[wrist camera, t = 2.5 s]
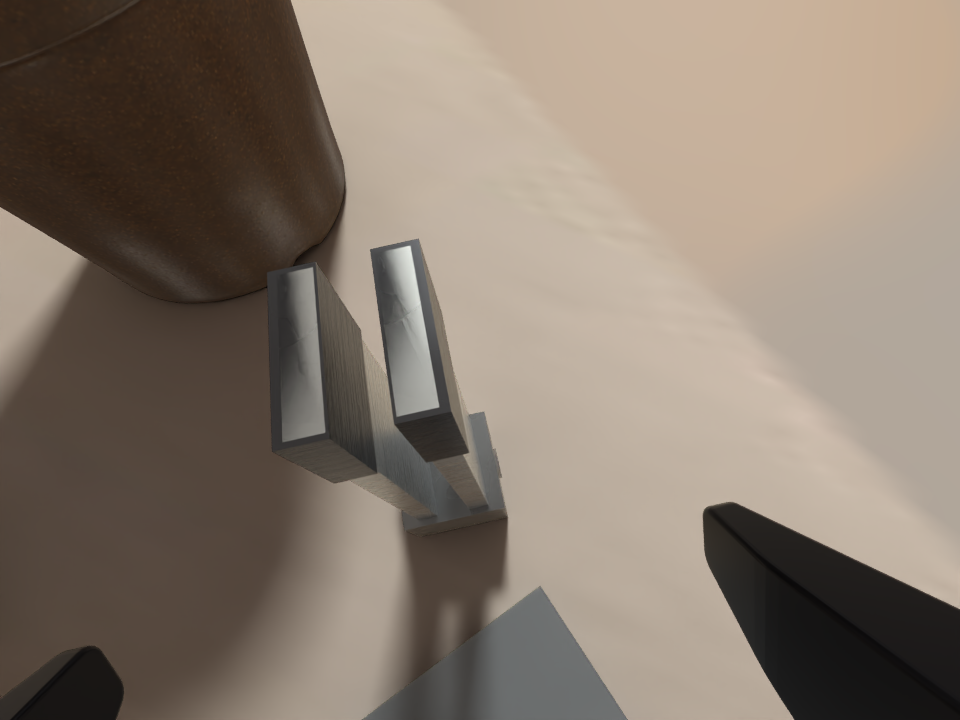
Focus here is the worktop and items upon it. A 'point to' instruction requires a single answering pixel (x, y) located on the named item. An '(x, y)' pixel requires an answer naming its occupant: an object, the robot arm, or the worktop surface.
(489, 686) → the plate
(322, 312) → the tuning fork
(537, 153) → the worktop surface
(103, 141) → the plant pot
